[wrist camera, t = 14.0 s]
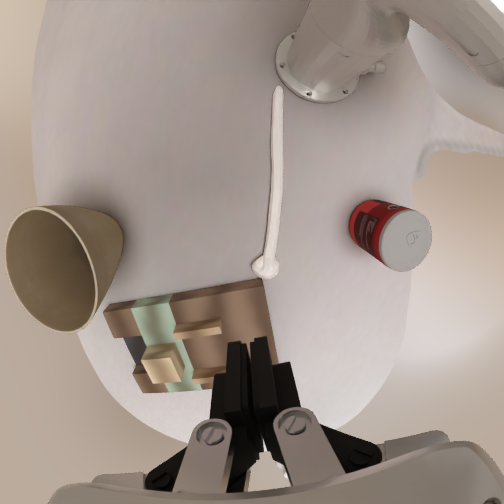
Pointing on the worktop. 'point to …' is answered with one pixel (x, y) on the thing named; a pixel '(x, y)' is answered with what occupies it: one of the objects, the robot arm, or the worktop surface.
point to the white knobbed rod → (273, 192)
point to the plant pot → (62, 263)
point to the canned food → (391, 234)
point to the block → (163, 363)
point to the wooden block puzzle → (193, 329)
